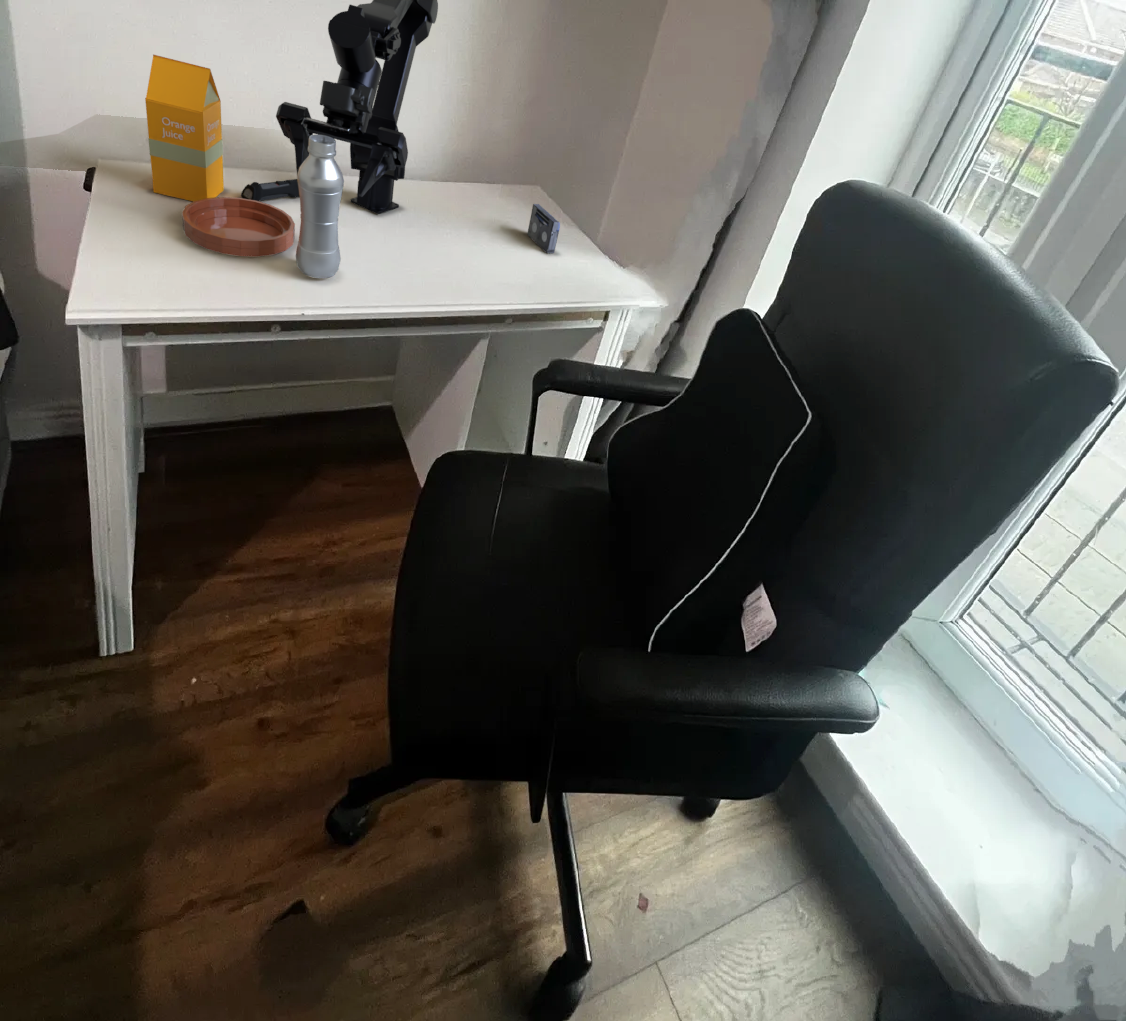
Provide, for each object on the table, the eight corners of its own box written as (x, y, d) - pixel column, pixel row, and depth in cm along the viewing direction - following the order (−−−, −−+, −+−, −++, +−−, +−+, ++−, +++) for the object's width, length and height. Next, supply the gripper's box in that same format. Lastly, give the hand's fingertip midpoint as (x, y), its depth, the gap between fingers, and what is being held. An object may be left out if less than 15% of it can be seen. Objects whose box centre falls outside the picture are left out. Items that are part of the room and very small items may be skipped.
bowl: (239, 207, 137) (239, 189, 136) (315, 243, 134) (316, 225, 132) (159, 229, 125) (158, 209, 123) (240, 269, 121) (240, 250, 120)
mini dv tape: (554, 253, 153) (561, 222, 149) (547, 253, 152) (554, 222, 148) (533, 234, 158) (540, 203, 154) (527, 234, 157) (533, 203, 153)
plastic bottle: (347, 274, 128) (356, 142, 115) (323, 288, 123) (329, 151, 110) (312, 260, 129) (316, 127, 116) (286, 273, 124) (287, 136, 111)
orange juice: (207, 205, 135) (201, 74, 123) (152, 192, 134) (140, 59, 122) (224, 189, 141) (220, 63, 129) (172, 177, 140) (162, 49, 128)
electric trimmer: (327, 197, 150) (328, 180, 148) (252, 206, 139) (252, 188, 137) (314, 189, 151) (315, 172, 149) (239, 198, 140) (239, 179, 138)
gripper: (281, 39, 115) (252, 141, 113) (412, 75, 116) (385, 176, 114) (298, 88, 126) (272, 181, 124) (417, 120, 127) (393, 212, 125)
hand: (329, 187), depth 122 cm, fingers open, 9 cm apart
